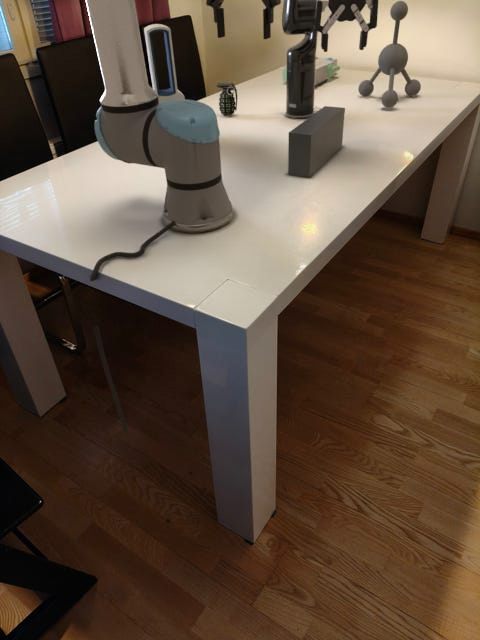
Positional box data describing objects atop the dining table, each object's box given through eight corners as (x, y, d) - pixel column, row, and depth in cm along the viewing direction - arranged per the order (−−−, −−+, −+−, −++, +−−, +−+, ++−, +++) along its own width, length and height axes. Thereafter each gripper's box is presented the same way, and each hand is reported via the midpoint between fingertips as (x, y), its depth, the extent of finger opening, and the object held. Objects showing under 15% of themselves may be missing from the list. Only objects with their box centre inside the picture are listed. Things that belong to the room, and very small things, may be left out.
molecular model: (440, 102, 169) (459, -1, 151) (386, 111, 163) (400, 6, 145) (398, 88, 187) (412, -5, 168) (348, 96, 181) (356, 0, 162)
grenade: (217, 117, 168) (214, 86, 162) (221, 112, 172) (219, 82, 166) (235, 117, 166) (233, 86, 160) (239, 113, 171) (238, 82, 165)
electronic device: (152, 140, 151) (135, 28, 133) (149, 133, 157) (132, 25, 139) (192, 134, 154) (180, 24, 135) (187, 128, 159) (175, 21, 141)
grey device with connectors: (305, 54, 216) (346, 57, 206) (304, 70, 220) (345, 74, 210) (274, 66, 200) (317, 69, 190) (274, 83, 204) (316, 87, 194)
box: (309, 177, 122) (311, 135, 116) (288, 174, 125) (288, 132, 118) (341, 146, 139) (345, 107, 133) (322, 144, 142) (324, 106, 135)
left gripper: (295, -68, 113) (293, 36, 126) (203, -62, 123) (210, 34, 136) (281, -68, 108) (281, 41, 121) (187, -62, 118) (196, 38, 131)
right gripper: (378, -36, 109) (370, 46, 119) (315, -33, 110) (311, 49, 120) (386, -34, 103) (376, 52, 113) (318, -30, 104) (314, 55, 114)
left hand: (243, 37), depth 129 cm, fingers open, 13 cm apart
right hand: (343, 50), depth 117 cm, fingers open, 8 cm apart
